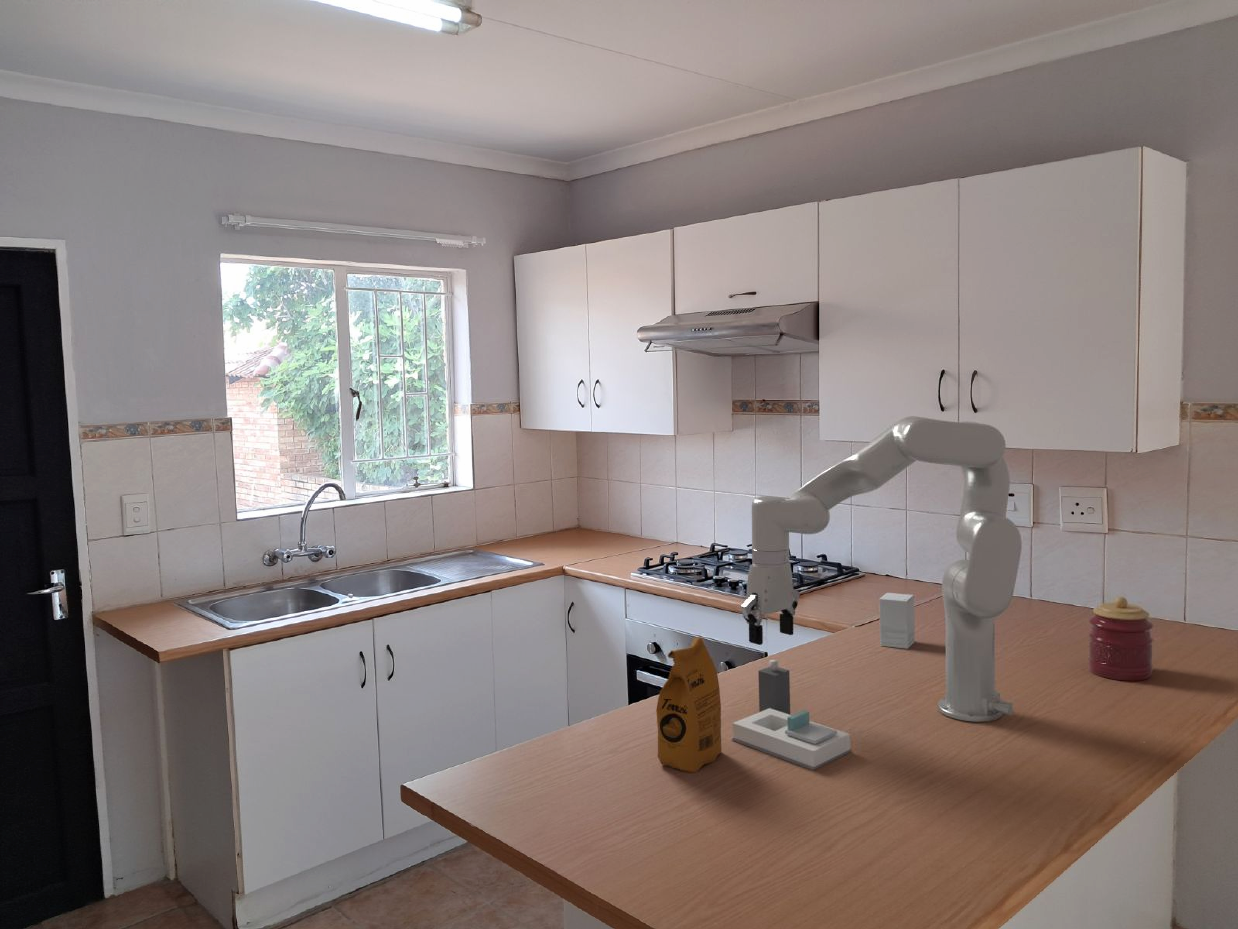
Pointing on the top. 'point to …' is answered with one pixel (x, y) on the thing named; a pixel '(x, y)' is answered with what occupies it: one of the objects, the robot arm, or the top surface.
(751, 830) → the top surface
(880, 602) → the supplement box
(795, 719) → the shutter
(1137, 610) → the canister
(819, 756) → the socket
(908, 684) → the top surface
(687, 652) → the coffee package
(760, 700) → the plug
